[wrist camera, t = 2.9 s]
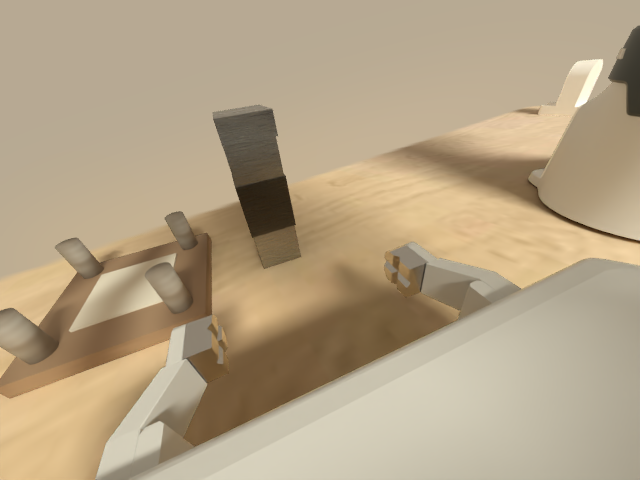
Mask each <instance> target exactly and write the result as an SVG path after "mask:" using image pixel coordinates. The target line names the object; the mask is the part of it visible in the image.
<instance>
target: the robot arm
mask: <svg viewBox="0 0 640 480" xmlns="http://www.w3.org/2000/svg"><path fill="white" fill-rule="evenodd" d="M616 59H617V61H616V63H615V65H614V67H613V69H612V71H611V73H610V75H609V77H608V78H609V79H610V81H612V83H611V84H610V85H609V86H608V87H607V88H606V89H605V90H604V91H603V92H602V93H601V94H600V95H598V96H597V97H595V98H594V99H592V100H590V101H588V102H586V103H585V104H583V105H581V106H580V107H579V108H578V109H577V110H576V112H575V113H574V115H573V117H572V119H571V121H570V122H569V124H568V126H567V128H566V130H565V132H564V134H563V135H562V137H561V139H560V141H559V143H558V145H557V147H556V149H555V150H554V152H553V154H552V156H551V158H550V160H549V162H548V164H547V166H546V167H545V168H543V169H538V170H534V171H532V172H531V174H530V176H529V178H528V180H529V181H530V182H531V183H532V184H533V185H535V186H536V187H537V188H538V195H539V198H540V199H541V201H542V202H543V203H544V204H545V205H546V206H548V207H549V208H551V209H552V210H554V211H555V212H557V213H559V214H561V215H563V216H565V217H567V218H569V219H571V220H573V221H576V222H578V223H581V224H584V225H586V226H589V227H592V228H595V229H598V230H601V231H604V232H608V233H611V234H615V235H618V236H622V237H626V238H630V239H635V240H639V241H640V26H637V27H636V28H635V29H633V30H632V32H631V34H630V36H629V38H628V40H627V42H626V43H625V45H624V47H623V48H621V49H620V51H619V53H618V55H617V57H616ZM385 259H386V260H387V262H386V263H385V265H384V271H385V274H386V276H387V278H388V280H389V281H390V282H391V283H394V284H397V289H398V290H399V291H400V292H401V293H402V295H403V296H404V297H405V298H407V297H409V296H412V295H414V294H417V293H420V292H421V293H422V294H424V295H427V296H429V297H431V298H433V299H435V300H438V301H440V302H442V303H444V304H446V305H449V306H451V307H453V308H455V309H457V310H460V314H459V316H458V320H457V321H455V322H453V323H451V324H448V325H446V326H444V327H442V328H440V329H438V330H436V331H434V332H432V333H430V334H428V335H426V336H424V337H422V338H419V339H417V340H415V341H413V342H411V343H409V344H407V345H405V346H403V347H401V348H399V349H397V350H395V351H393V352H390V353H388V354H386V355H384V356H382V357H380V358H378V359H376V360H374V361H372V362H370V363H368V364H366V365H364V366H362V367H359V368H357V369H355V370H353V371H351V372H349V373H347V374H345V375H343V376H341V377H339V378H337V379H335V380H333V381H331V382H328V383H326V384H324V385H322V386H320V387H318V388H316V389H314V390H312V391H310V392H308V393H306V394H304V395H302V396H300V397H297V398H295V399H293V400H291V401H289V402H287V403H285V404H283V405H281V406H279V407H277V408H275V409H273V410H271V411H269V412H266V413H264V414H262V415H260V416H258V417H256V418H254V419H252V420H250V421H248V422H246V423H244V424H242V425H240V426H238V427H235V428H233V429H231V430H229V431H227V432H225V433H223V434H221V435H219V436H217V437H215V438H213V439H211V440H209V441H207V442H204V443H202V444H200V445H198V446H196V447H194V446H193V445H192V444H190V443H189V442H188V441H187V440H185V439H184V438H183V437H184V435H185V433H186V431H187V429H188V426H189V424H190V422H191V420H192V418H193V415H194V413H195V411H196V409H197V407H198V404H199V402H200V400H201V398H202V396H203V393H204V391H205V389H206V387H207V383H209V382H211V381H213V380H215V379H218V378H220V377H222V376H224V375H226V374H228V373H229V362H228V357H227V355H226V353H225V352H226V350H227V348H228V347H227V339H226V335H225V332H224V330H223V328H222V327H221V326H218V320H217V318H216V317H215V315H210V316H207V317H204V318H201V319H198V320H195V321H192V322H189V323H187V324H184V325H181V326H178V327H175V328H173V330H172V332H171V337H170V343H169V349H168V355H167V361H166V367H163V368H161V369H160V371H159V372H158V374H157V375H156V376H155V378H154V379H153V380H152V382H151V383H150V384H149V386H148V387H147V388H146V390H145V391H144V393H143V394H142V395H141V397H140V398H139V399H138V401H137V402H136V403H135V405H134V406H133V407H132V409H131V410H130V411H129V413H128V414H127V416H126V417H125V418H124V420H123V421H122V422H121V424H120V425H119V426H118V428H117V429H116V430H115V432H114V433H113V434H112V436H111V437H110V439H109V440H108V441H107V443H106V445H105V448H104V452H103V455H102V458H101V462H100V465H99V468H98V472H97V475H96V478H95V480H640V266H638V265H634V264H629V263H623V262H618V261H612V260H606V259H599V258H587V259H584V260H581V261H579V262H577V263H575V264H572V265H570V266H568V267H566V268H564V269H562V270H560V271H558V272H556V273H554V274H552V275H550V276H548V277H546V278H544V279H541V280H539V281H537V282H535V283H533V284H531V285H529V286H527V287H525V288H523V289H521V288H519V287H518V286H516V285H515V284H513V283H512V282H510V281H508V280H507V279H505V278H504V277H502V276H501V275H499V274H498V273H496V272H494V271H490V270H486V269H482V268H478V267H474V266H470V265H466V264H462V263H458V262H454V261H450V260H446V259H442V258H439V259H437V258H436V257H434V256H433V255H431V254H430V253H429V252H427V251H426V250H425V249H423V248H422V247H421V246H419V245H418V244H417V243H415V242H410V243H408V244H405V245H403V246H400V247H397V248H395V249H392V250H389V251H387V252H386V253H385Z"/></svg>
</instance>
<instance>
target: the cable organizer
mask: <svg viewBox="0 0 640 480" xmlns="http://www.w3.org/2000/svg"><path fill="white" fill-rule="evenodd" d="M602 66H603V60H602V59H598V60H587V61H586V60H585V61H578V62H577V63H575V65H574V66H573V67H572V69H571V70H570V72H569V74H568V76H567V78H566V81H565V83H564V86H563V89H562V91H561V93H560V96H559V98H558V101H557V102H550V103H548V104H547V105H541V106H540V109H539V112H538V115H552V116H572V117H573V115H574V113H575V112H576V110H577V109H578V108H579V107H580V106H581V105H583V104H585V103H586V102H587V100H588V98H589V96H590V93H591V91H592V89H593V87H594V85H595V83H596V80H597V78H598V76H599V74H600V72H601V69H602Z"/></svg>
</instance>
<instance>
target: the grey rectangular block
mask: <svg viewBox="0 0 640 480" xmlns="http://www.w3.org/2000/svg"><path fill="white" fill-rule="evenodd" d="M213 120H214V123H215V126H216V129H217V131H218V134H219V137H220V140H221V143H222V146H223V148H224V151H225V154H226V157H227V160H228V163H229V166H230V169H231V172H232V177H233V181H234V185H235V188H236V191H237V194H238V197H239V200H240V203H241V206H242V209H243V212H244V215H245V218H246V221H247V224H248V227H249V230H250V233H251V235H252V238H254V240H255V243H256V246H257V249H258V252H259V255H260V258H261V261H262V264H263V267H264V269H265V268H268V267H271V266H274V265H277V264H280V263H283V262H286V261H289V260H292V259H295V258H298V257H301V255H300V250H299V245H298V240H297V236H296V231H295V226H294V225H296V224H295V219H294V215H293V210H292V205H291V200H290V195H289V190H288V185H287V181H286V176H285V175H284V173H283V169H282V164H281V159H280V154H279V150H278V145H277V140H276V136H278V134H277V130H276V125H275V119H274V115H273V110H272V109H271V108H267V107H264V106H261V105H254V106H249V107H242V108H236V109H230V110H224V111H218V112H213Z"/></svg>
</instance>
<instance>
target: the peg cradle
mask: <svg viewBox="0 0 640 480" xmlns="http://www.w3.org/2000/svg"><path fill="white" fill-rule="evenodd" d="M165 220H166V222H167V224H168V225H169V227H170V229H171V231H172V233H173V234H174V236H175V238H176V240H177V241H175V242H172V243H168V244H165V245H161V246H158V247H154V248H150V249H147V250H143V251H140V252H136V253H133V254H129V255H126V256H122V257H118V258H115V259H111V260H108V261H104V262H101V263H99V262H98V261H97V260H96V258H95V257H94V256H93V255H92V254H91V253H90V251H89V250H88V249H87V248H86V247H85V246H84V245H83V243H82V242H81V241H80V240H79V239H78V238H71V239H68V240H65V241H63V242H61V243H59V244H58V245H56V246H55V249H56V250H57V251H58V252H59V253H60V254H61V255H62V256H63V257H64V258H65V259H66V260H67V261H68V262H69V263H70V264H71V266H72V267H73V268H74V269H75V270H76V271H77V274H76V275H75V276H74V278H73V279H72V281H71V282H70V283H69V285H68V286H67V287H66V289H65V290H64V292H63V293H62V294H61V296H60V297H59V298H58V300H57V301H56V303H55V304H54V305H53V307H52V308H51V309H50V311H49V312H48V314H47V315H46V316H45V318H44V319H43V320H42V322H41V323H40V325H39V326H36V325H35V324H34V323H32V322H31V321H30V320H28V319H27V318H26V317H24V316H23V315H22V314H20V313H19V312H18V311H16V310H15V309H14V308H8V309H4V310H1V311H0V347H1V348H3V349H5V350H6V351H8V352H9V353H11V354H13V355H14V356H16V358H15V359H14V360H13V362H12V363H11V365H10V366H9V367H8V369H7V370H6V371H5V373H4V374H3V376H2V377H1V378H0V394H2V395H4V396H6V397H8V398H13V397H15V396H18V395H21V394H23V393H26V392H29V391H32V390H34V389H37V388H40V387H42V386H45V385H48V384H50V383H53V382H56V381H58V380H61V379H64V378H67V377H69V376H72V375H75V374H77V373H80V372H83V371H85V370H88V369H91V368H94V367H96V366H99V365H102V364H104V363H107V362H110V361H112V360H115V359H118V358H120V357H123V356H126V355H129V354H131V353H134V352H137V351H139V350H142V349H145V348H147V347H150V346H153V345H156V344H158V343H161V342H164V341H166V340H169V339H170V337H171V332H172V330H173V328H175V327H178V326H181V325H184V324H187V323H189V322H192V321H195V320H198V319H201V318H204V317H207V316H210V315H212V299H211V240H210V238H209V236H208V234H207V233H204V234H200V235H197V236H194V234H193V232H192V230H191V228H190V226H189V224H188V222H187V220H186V218H185V216H184V214H183V212H174V213H171V214H169V215H167V216H166V217H165Z"/></svg>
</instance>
